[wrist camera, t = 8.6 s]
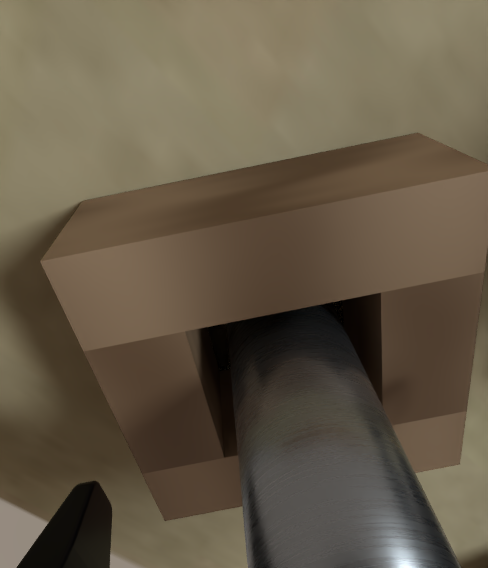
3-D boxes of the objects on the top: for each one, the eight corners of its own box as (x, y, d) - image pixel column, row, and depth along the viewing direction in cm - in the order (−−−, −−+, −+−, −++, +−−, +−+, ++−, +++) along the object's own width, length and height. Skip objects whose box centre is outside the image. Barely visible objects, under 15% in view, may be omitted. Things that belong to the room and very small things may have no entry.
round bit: (320, 249, 13) (572, 700, 4) (329, 333, 14) (521, 783, 6) (215, 270, 13) (245, 759, 4) (235, 352, 14) (286, 825, 6)
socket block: (417, 132, 11) (497, 169, 8) (410, 382, 16) (459, 464, 13) (82, 200, 11) (40, 261, 8) (171, 428, 16) (164, 521, 13)
